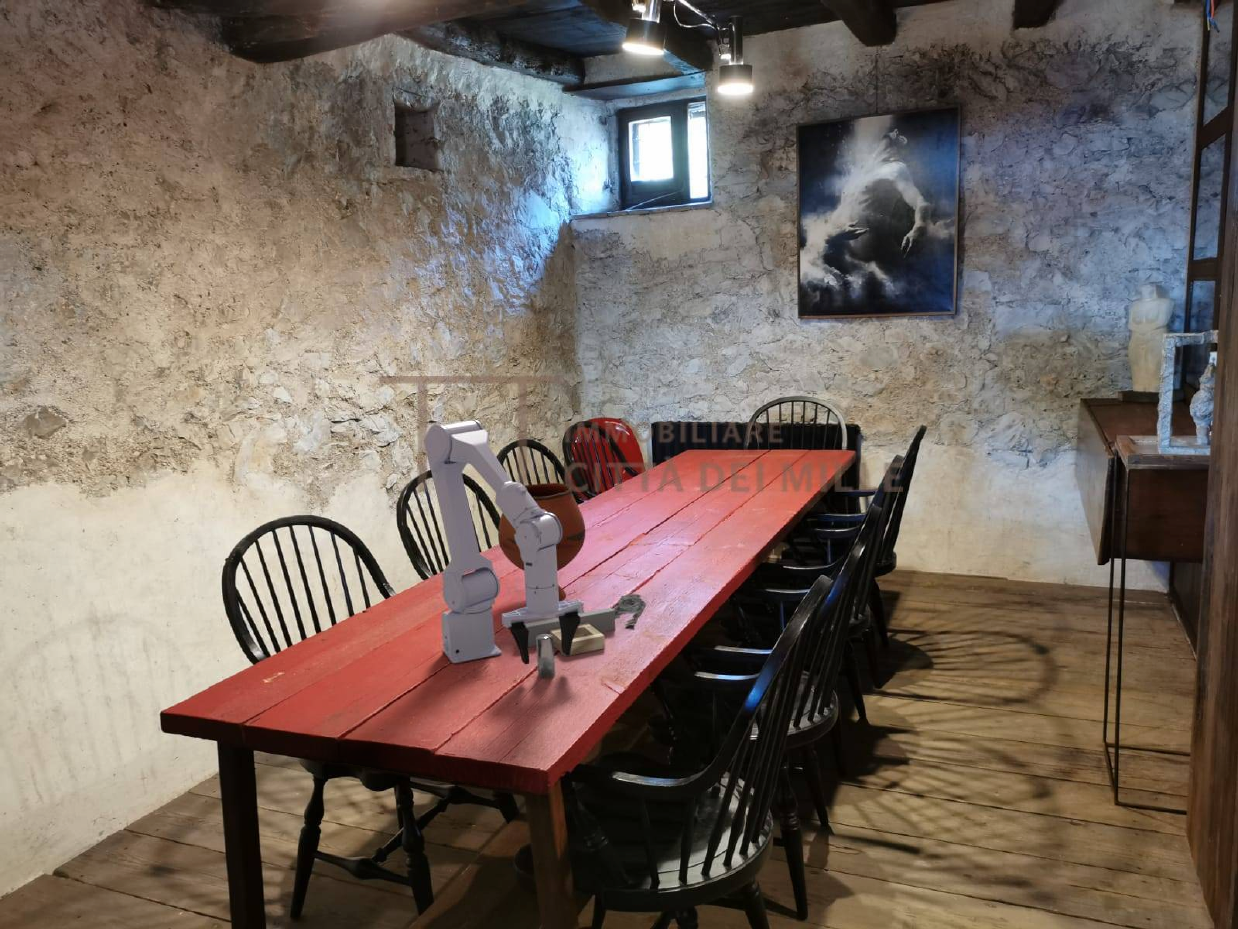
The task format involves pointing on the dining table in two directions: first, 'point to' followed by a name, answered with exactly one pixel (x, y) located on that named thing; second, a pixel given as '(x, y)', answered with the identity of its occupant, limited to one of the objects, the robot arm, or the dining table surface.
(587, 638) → the socket block
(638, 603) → the driftwood
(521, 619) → the robot arm
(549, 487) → the goblet
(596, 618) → the backstop wall
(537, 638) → the dowel
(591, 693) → the dining table surface
